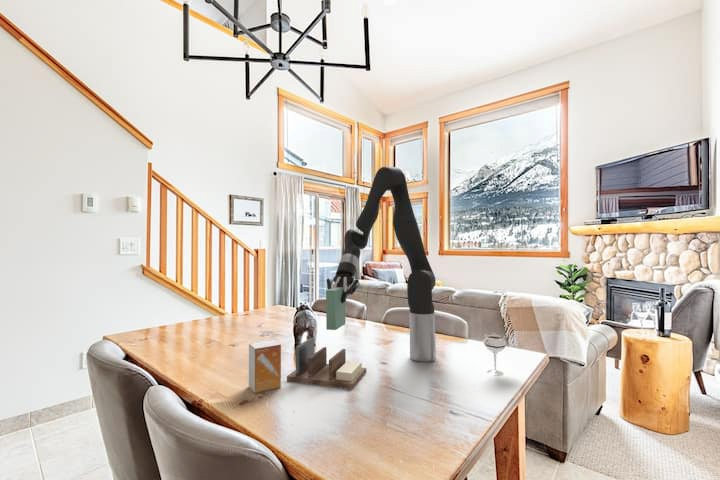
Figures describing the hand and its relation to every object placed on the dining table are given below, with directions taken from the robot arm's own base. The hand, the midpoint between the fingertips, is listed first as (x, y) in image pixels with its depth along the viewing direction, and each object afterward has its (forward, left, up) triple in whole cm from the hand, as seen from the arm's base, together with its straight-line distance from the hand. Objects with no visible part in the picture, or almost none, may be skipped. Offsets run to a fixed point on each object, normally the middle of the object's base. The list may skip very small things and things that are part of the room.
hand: (337, 301), depth 128 cm
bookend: (+5, +16, -20) cm, 26 cm away
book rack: (-3, +16, -22) cm, 27 cm away
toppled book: (-10, +16, -20) cm, 28 cm away
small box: (+12, +29, -22) cm, 38 cm away
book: (0, +1, -9) cm, 9 cm away
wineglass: (-55, -3, -22) cm, 59 cm away
